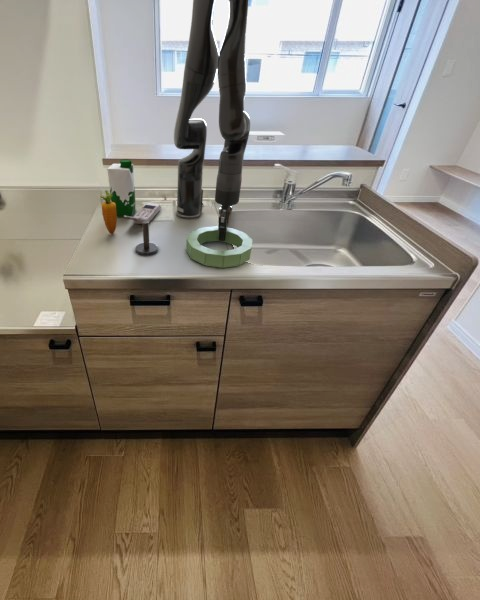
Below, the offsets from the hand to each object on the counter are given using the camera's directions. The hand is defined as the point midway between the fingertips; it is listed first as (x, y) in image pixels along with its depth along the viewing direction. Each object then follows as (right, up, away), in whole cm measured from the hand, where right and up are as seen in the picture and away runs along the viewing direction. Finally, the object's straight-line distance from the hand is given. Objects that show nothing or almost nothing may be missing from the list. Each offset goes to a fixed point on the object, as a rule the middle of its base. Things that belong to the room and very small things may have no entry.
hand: (222, 238), depth 107 cm
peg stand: (-25, -5, -6) cm, 26 cm away
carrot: (-38, +2, +3) cm, 38 cm away
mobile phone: (-28, +10, +14) cm, 33 cm away
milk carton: (-36, +13, +18) cm, 43 cm away
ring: (-2, -5, -6) cm, 9 cm away
